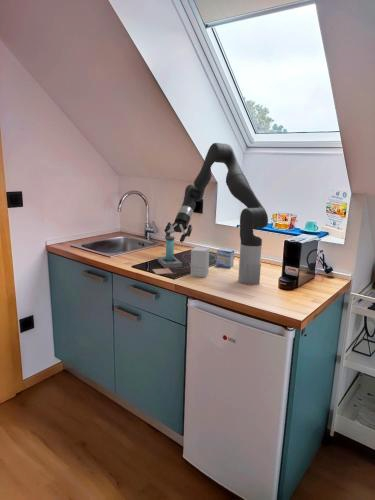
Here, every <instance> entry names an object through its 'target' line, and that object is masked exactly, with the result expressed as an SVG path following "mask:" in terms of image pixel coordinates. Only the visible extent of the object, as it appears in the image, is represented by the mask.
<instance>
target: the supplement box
mask: <svg viewBox="0 0 375 500" xmlns="http://www.w3.org/2000/svg"><path fill="white" fill-rule="evenodd" d="M209 265H210V248H209V247H199V246H194V247H193V248H192V249H191V250H190V276H191V277H200V278H207V276H208V275H209V270H210V269H209V267H210V266H209Z"/></svg>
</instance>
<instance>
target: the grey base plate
mask: <svg viewBox="0 0 375 500" xmlns="http://www.w3.org/2000/svg"><path fill="white" fill-rule="evenodd" d="M157 262H158V263H159V264H160V265H161V266H162V267H163V269H165V268H168V269H171V268H172V269H173V268H176V269H177V268H183V262H182V261H180V260H179V259H178V258H176V256H174V260H173V262H166V256H159V257H157Z"/></svg>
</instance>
